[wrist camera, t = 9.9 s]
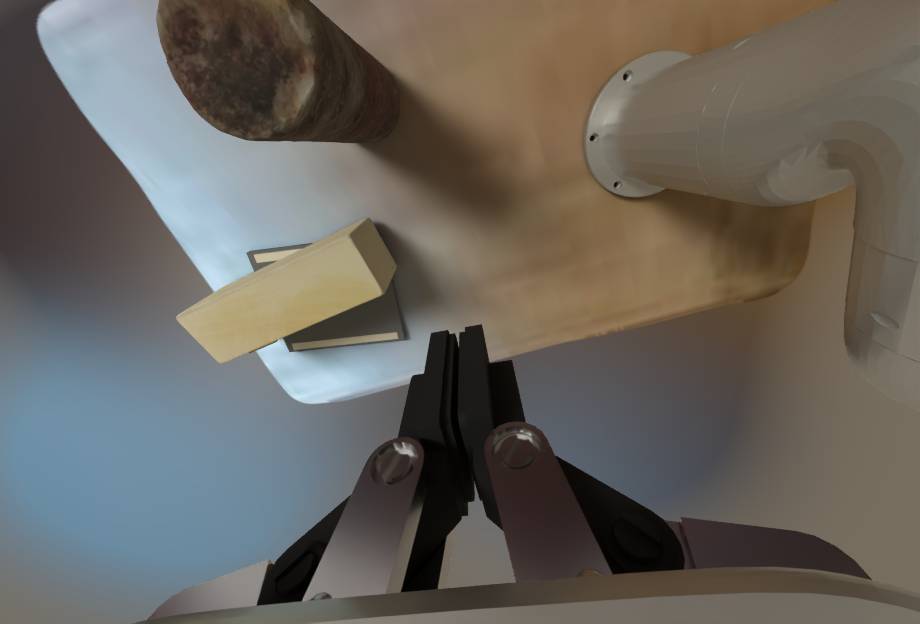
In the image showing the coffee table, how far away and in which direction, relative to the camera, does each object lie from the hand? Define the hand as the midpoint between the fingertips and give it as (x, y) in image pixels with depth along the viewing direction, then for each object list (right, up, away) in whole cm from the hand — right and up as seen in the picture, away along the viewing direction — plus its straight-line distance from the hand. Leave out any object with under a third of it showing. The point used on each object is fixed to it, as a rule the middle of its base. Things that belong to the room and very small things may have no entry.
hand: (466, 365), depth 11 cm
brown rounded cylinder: (-10, +23, +21) cm, 33 cm away
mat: (-16, +4, +31) cm, 35 cm away
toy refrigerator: (-8, +8, +23) cm, 26 cm away
